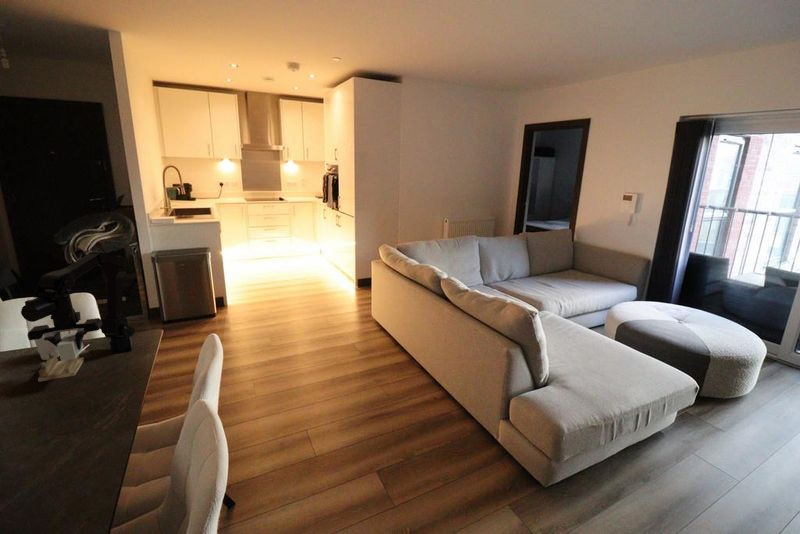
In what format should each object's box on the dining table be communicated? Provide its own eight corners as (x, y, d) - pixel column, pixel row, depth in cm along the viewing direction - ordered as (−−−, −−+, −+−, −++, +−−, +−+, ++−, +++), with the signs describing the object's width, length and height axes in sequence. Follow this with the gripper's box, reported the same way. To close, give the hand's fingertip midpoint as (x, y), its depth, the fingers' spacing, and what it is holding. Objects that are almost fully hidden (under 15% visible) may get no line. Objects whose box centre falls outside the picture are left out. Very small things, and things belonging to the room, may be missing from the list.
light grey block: (83, 347, 136) (79, 332, 134) (76, 358, 128) (72, 343, 126) (69, 349, 134) (65, 334, 132) (60, 361, 126) (56, 345, 125)
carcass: (84, 359, 146) (80, 346, 144) (74, 375, 135) (71, 360, 134) (51, 365, 141) (47, 351, 140) (38, 381, 131) (34, 366, 129)
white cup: (44, 353, 150) (38, 330, 147) (68, 349, 153) (63, 327, 150) (35, 362, 143) (29, 338, 140) (61, 358, 146) (55, 335, 144)
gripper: (101, 298, 138) (109, 336, 142) (35, 305, 129) (45, 346, 134) (93, 308, 128) (102, 349, 132) (21, 317, 120) (33, 360, 124)
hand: (71, 350), depth 131 cm, fingers closed on light grey block, 4 cm apart
